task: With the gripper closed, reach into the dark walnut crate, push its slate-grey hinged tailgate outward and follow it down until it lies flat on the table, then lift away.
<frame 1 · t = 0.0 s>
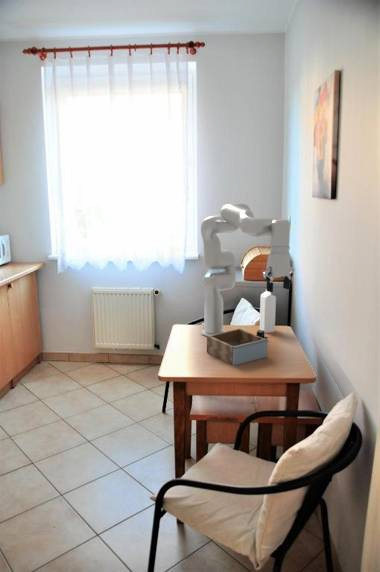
hand: (278, 290, 195), 31 cm above the table, tool pointing down, fingers open, 9 cm apart
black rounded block: (260, 340, 229), on the table
milk: (266, 331, 242), on the table
tailgate: (250, 351, 199), point 4 cm above the table, hinge at 0.0°
crate: (235, 354, 208), on the table
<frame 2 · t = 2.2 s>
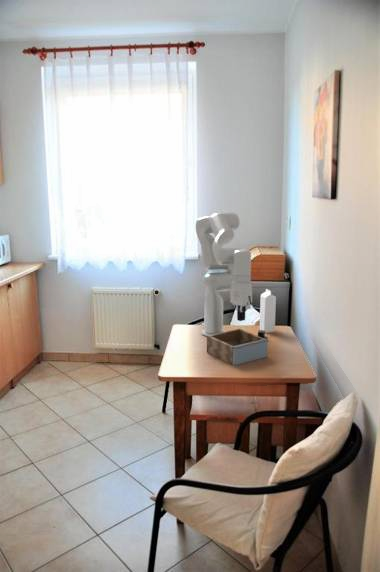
hand: (241, 320, 201), 17 cm above the table, tool pointing down, fingers closed
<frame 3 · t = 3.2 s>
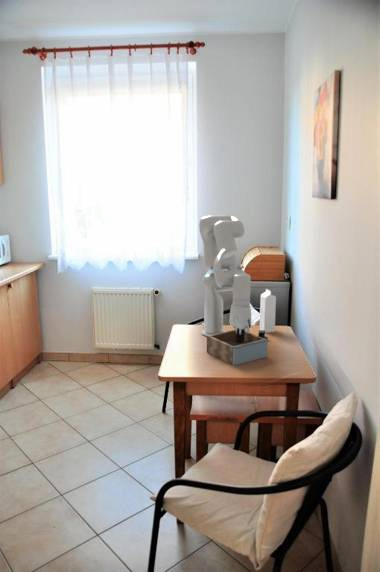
hand: (240, 342, 204), 7 cm above the table, tool pointing down, fingers closed
nothing on the table moved.
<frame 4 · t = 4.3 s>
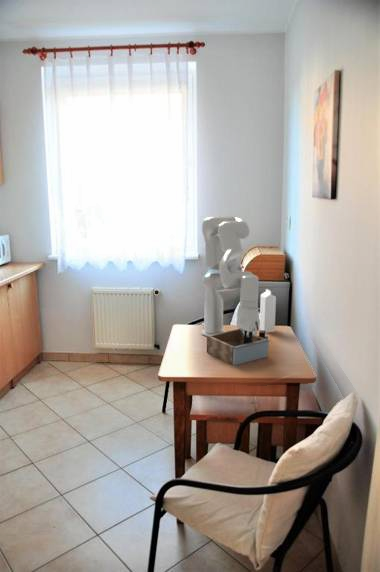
hand: (247, 344, 200), 7 cm above the table, tool pointing down, fingers closed
tailgate: (250, 351, 199), point 4 cm above the table, hinge at 3.8°, touching gripper
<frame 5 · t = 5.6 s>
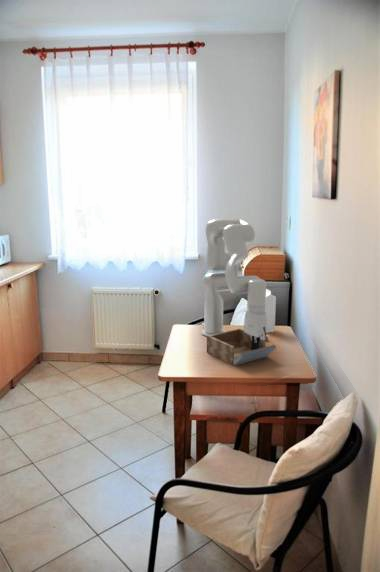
hand: (255, 350, 196), 6 cm above the table, tool pointing down, fingers closed
tailgate: (254, 355, 197), point 4 cm above the table, hinge at 41.9°, touching gripper
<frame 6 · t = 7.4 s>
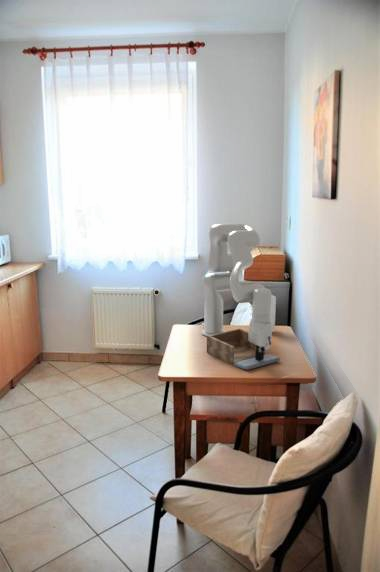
hand: (259, 359, 195), 3 cm above the table, tool pointing down, fingers closed
tailgate: (257, 361, 196), point 1 cm above the table, hinge at 84.4°
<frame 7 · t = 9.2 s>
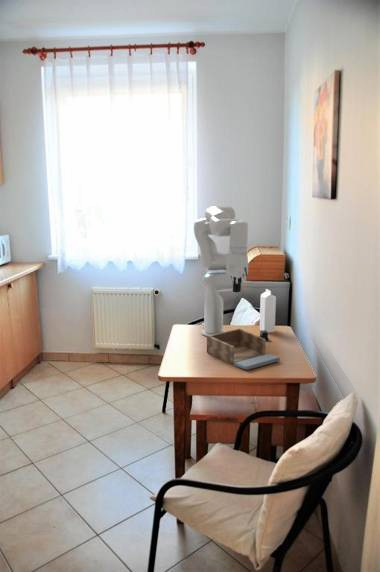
hand: (236, 291, 202), 29 cm above the table, tool pointing down, fingers closed
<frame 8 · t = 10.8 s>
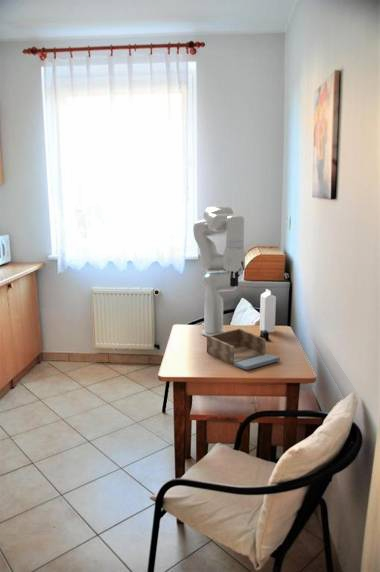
hand: (234, 286, 203), 31 cm above the table, tool pointing down, fingers closed
at the end: tailgate at +84° (first picture: +0°); tailgate touching nothing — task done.
